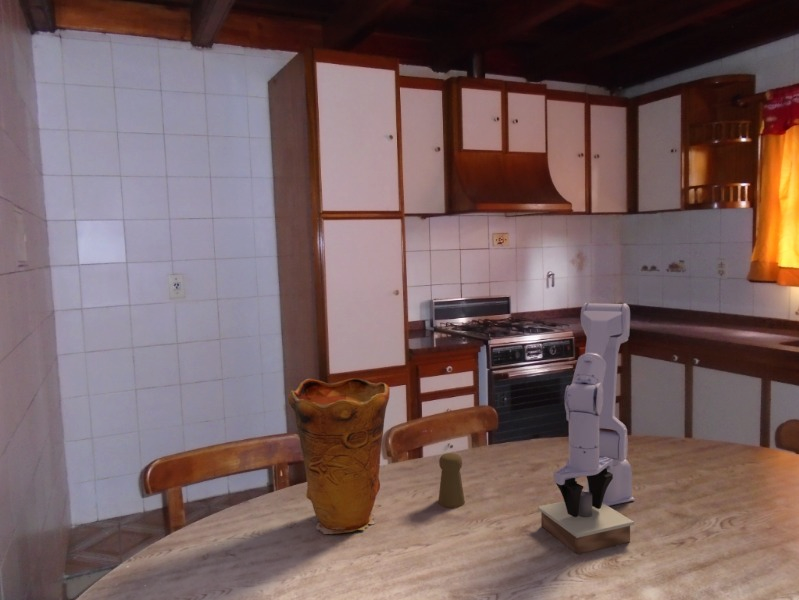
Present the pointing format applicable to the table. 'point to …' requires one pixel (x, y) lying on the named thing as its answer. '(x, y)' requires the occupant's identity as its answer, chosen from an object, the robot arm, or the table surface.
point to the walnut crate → (586, 537)
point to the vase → (341, 448)
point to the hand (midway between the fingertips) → (584, 510)
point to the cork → (451, 481)
